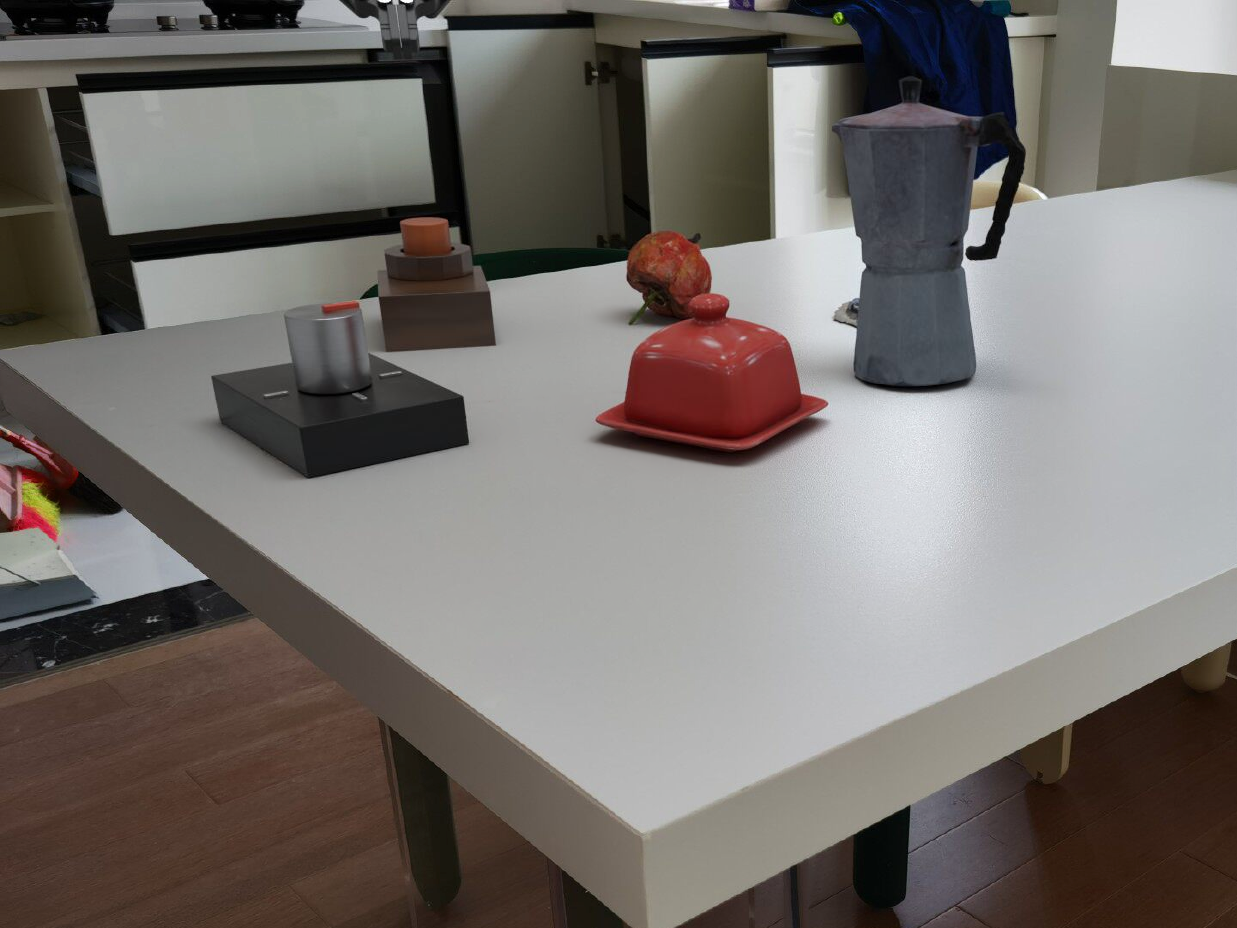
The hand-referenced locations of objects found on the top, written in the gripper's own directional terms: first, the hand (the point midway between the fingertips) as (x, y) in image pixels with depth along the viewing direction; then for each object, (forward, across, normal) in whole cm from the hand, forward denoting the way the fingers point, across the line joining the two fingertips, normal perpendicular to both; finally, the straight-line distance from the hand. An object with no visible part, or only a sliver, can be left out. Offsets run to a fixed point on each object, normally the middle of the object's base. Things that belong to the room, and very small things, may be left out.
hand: (402, 52), depth 111 cm
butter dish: (+44, +16, -15) cm, 49 cm away
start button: (+16, 0, +4) cm, 17 cm away
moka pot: (+37, +33, -9) cm, 51 cm away
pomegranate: (+22, +18, +6) cm, 29 cm away
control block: (+22, 0, +6) cm, 23 cm away
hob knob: (+37, -7, -14) cm, 41 cm away
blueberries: (+24, +35, +4) cm, 43 cm away
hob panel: (+40, -7, -12) cm, 42 cm away
